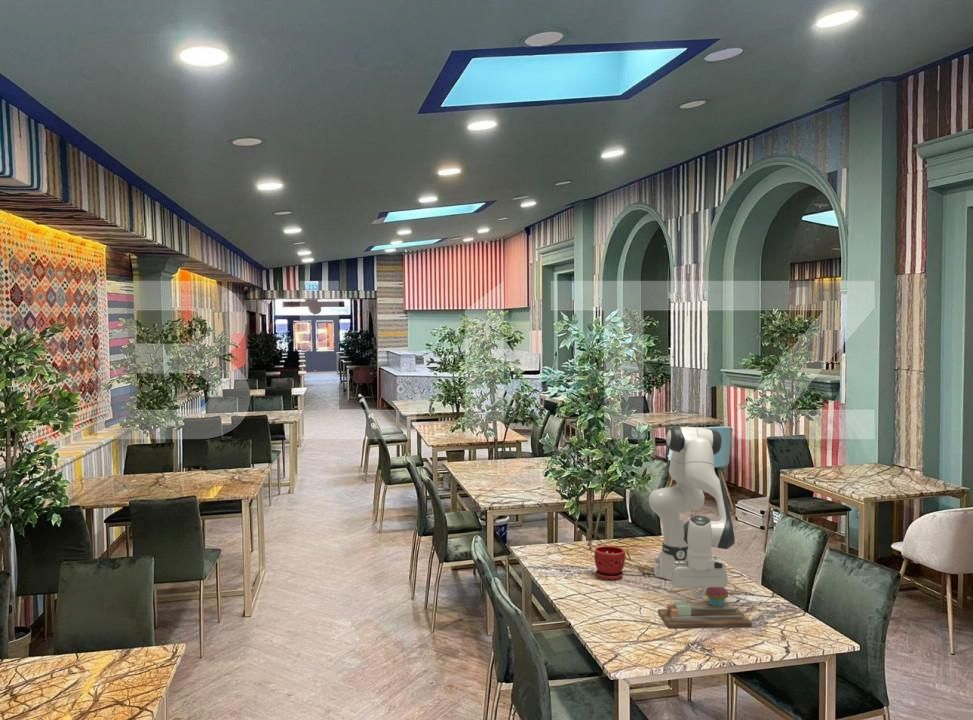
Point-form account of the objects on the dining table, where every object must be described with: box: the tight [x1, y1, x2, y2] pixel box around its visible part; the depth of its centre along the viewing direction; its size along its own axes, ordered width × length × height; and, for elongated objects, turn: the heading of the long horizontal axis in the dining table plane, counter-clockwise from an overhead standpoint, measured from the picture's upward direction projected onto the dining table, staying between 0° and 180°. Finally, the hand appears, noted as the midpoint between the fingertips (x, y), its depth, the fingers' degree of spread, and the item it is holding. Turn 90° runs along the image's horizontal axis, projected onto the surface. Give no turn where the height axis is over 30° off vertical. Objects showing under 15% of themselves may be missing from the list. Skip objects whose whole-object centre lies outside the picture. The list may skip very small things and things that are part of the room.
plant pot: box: [593, 545, 626, 581], centre depth 310 cm, size 13×13×12 cm
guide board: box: [657, 602, 753, 629], centre depth 262 cm, size 14×30×5 cm, turn 91°
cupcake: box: [704, 587, 729, 608], centre depth 277 cm, size 9×8×12 cm
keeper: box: [672, 601, 692, 616], centre depth 262 cm, size 5×5×4 cm
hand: (698, 598), depth 262 cm, fingers closed
